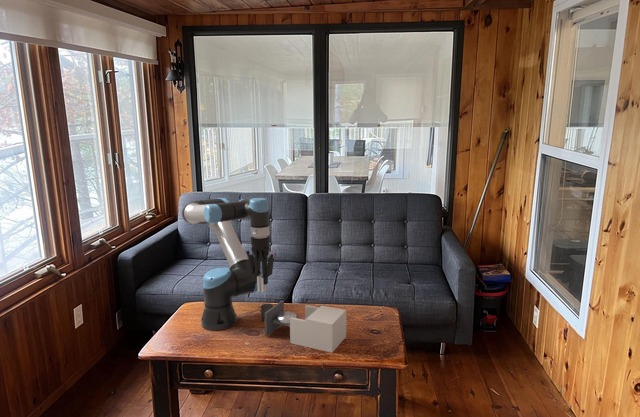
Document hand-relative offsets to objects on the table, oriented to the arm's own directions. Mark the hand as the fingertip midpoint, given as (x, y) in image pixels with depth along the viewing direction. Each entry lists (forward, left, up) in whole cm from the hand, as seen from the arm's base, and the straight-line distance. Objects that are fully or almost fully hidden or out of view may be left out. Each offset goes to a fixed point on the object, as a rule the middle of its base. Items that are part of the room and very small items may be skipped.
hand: (262, 290), depth 183 cm
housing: (+26, 0, -16) cm, 31 cm away
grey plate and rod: (+14, 0, -16) cm, 21 cm away
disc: (+12, 0, -11) cm, 16 cm away
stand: (-3, +8, -16) cm, 19 cm away
